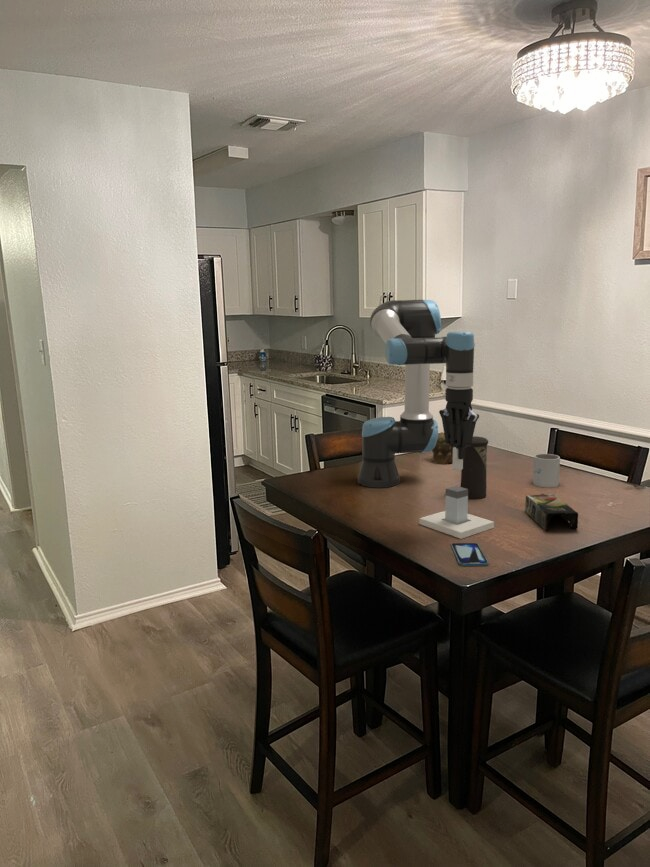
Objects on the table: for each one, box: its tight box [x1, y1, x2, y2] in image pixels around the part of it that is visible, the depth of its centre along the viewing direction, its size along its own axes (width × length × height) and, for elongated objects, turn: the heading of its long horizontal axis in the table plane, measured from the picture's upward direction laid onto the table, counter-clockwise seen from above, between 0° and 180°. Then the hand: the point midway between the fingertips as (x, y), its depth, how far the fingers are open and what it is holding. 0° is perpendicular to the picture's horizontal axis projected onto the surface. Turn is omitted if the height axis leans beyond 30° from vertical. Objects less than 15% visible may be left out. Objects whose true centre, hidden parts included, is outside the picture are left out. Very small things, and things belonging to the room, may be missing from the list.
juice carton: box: [524, 493, 579, 533], centre depth 195 cm, size 20×10×6 cm, turn 1°
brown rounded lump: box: [431, 431, 453, 465], centre depth 267 cm, size 11×11×12 cm
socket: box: [419, 510, 495, 540], centre depth 192 cm, size 16×14×2 cm
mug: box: [532, 453, 561, 488], centre depth 234 cm, size 12×9×10 cm
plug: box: [444, 485, 469, 525], centre depth 191 cm, size 4×4×11 cm
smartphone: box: [450, 542, 489, 567], centre depth 170 cm, size 7×1×15 cm
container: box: [460, 435, 489, 500], centre depth 219 cm, size 9×9×20 cm
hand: (457, 469), depth 188 cm, fingers closed
